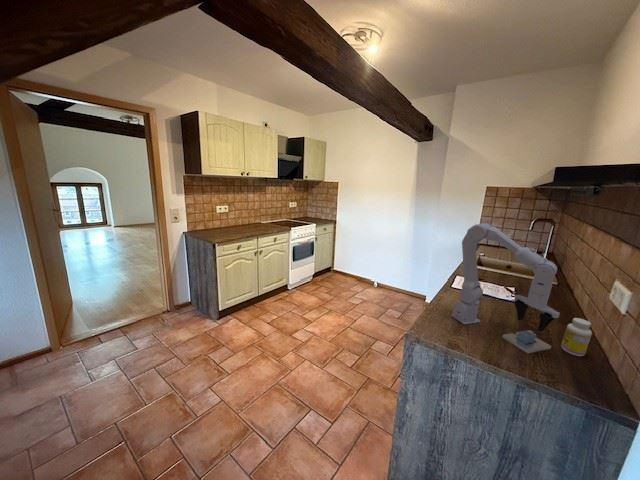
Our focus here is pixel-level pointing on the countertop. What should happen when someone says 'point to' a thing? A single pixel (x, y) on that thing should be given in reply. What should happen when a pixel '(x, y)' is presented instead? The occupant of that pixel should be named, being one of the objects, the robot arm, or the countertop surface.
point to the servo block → (526, 337)
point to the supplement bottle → (577, 337)
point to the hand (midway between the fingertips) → (530, 324)
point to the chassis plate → (529, 348)
